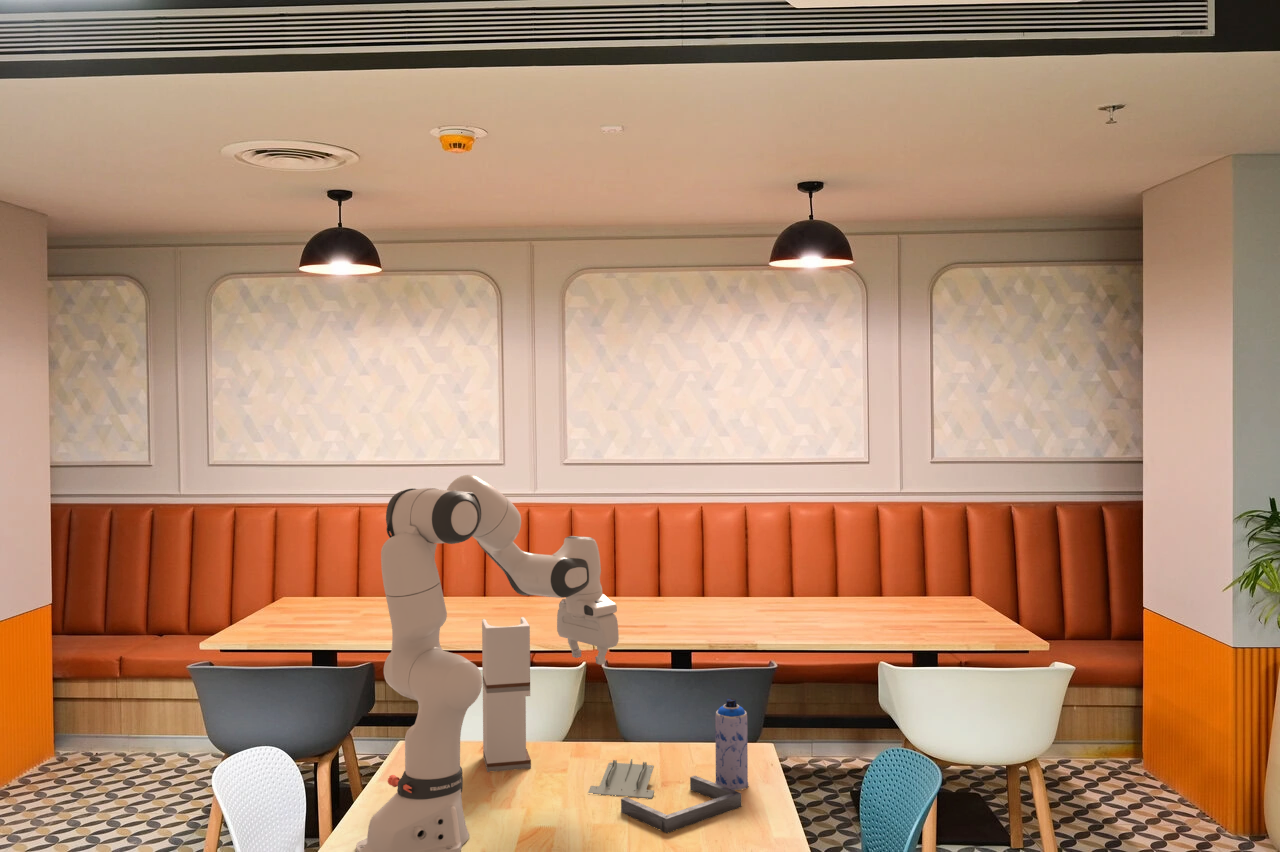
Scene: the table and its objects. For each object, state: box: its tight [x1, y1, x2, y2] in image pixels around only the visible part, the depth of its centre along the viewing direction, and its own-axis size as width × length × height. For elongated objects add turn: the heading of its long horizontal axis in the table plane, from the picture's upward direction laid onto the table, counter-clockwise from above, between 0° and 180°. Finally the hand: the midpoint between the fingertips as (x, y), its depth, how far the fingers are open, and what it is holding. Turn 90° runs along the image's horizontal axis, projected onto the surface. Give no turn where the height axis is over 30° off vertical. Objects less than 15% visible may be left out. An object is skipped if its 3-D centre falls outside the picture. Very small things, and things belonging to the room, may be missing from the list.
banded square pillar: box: [481, 616, 532, 773], centre depth 261 cm, size 11×11×35 cm
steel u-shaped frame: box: [620, 775, 743, 834], centre depth 229 cm, size 22×15×3 cm
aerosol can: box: [714, 698, 750, 791], centre depth 244 cm, size 8×8×20 cm
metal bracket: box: [587, 758, 655, 800], centre depth 243 cm, size 14×6×15 cm
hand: (588, 660), depth 249 cm, fingers open, 8 cm apart
